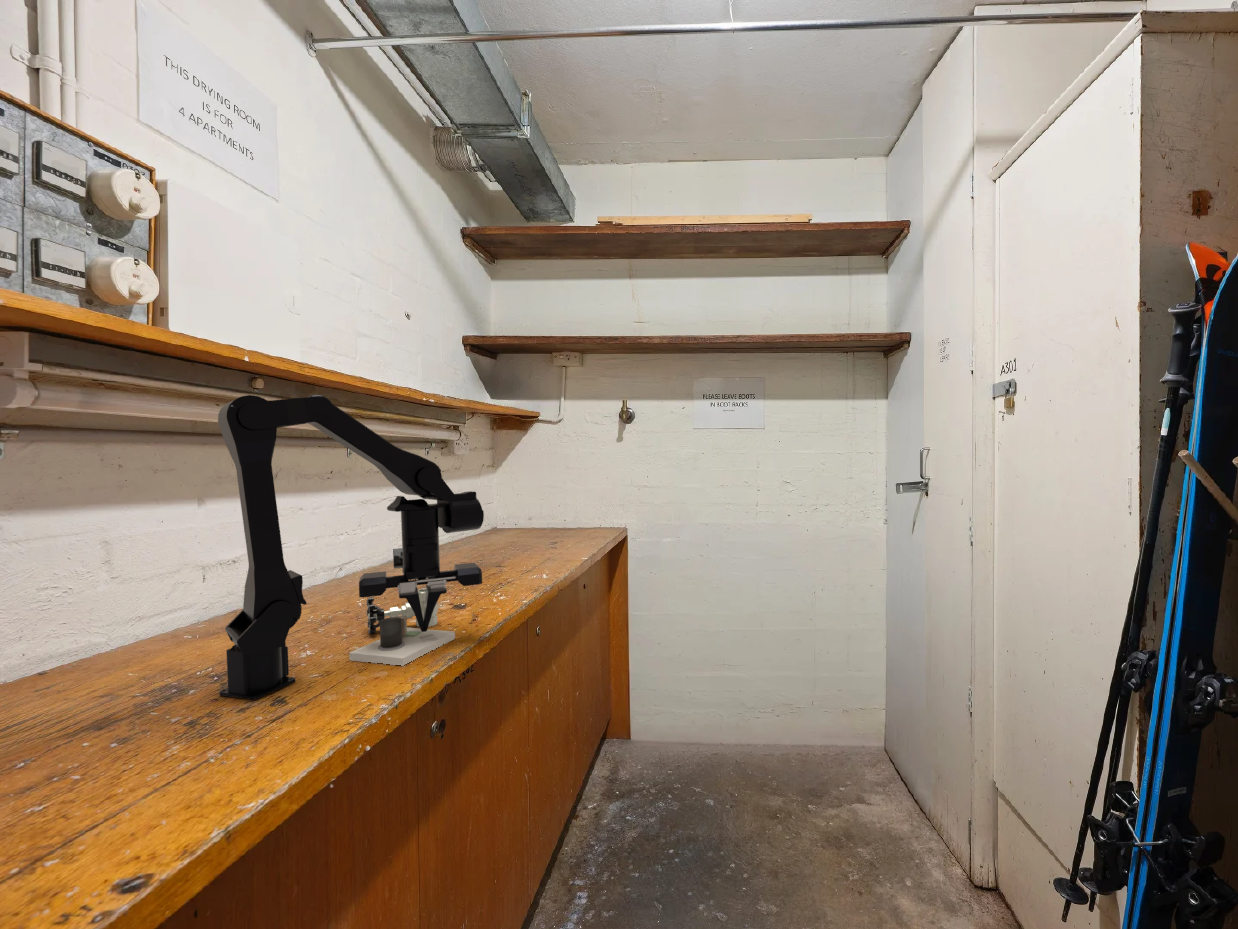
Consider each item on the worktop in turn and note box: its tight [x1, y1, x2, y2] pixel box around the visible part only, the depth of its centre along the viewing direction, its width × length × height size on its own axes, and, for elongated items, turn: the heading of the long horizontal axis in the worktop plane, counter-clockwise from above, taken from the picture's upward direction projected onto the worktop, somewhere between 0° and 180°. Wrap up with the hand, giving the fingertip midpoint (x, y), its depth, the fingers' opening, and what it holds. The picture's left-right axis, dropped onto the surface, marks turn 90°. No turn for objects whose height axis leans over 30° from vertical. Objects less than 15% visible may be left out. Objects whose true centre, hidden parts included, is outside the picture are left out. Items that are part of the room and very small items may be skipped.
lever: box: [379, 615, 408, 647], centre depth 92 cm, size 7×3×4 cm, turn 7°
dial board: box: [348, 627, 456, 667], centre depth 92 cm, size 13×10×1 cm
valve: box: [366, 587, 439, 636], centre depth 103 cm, size 7×7×12 cm
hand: (424, 631), depth 93 cm, fingers closed
